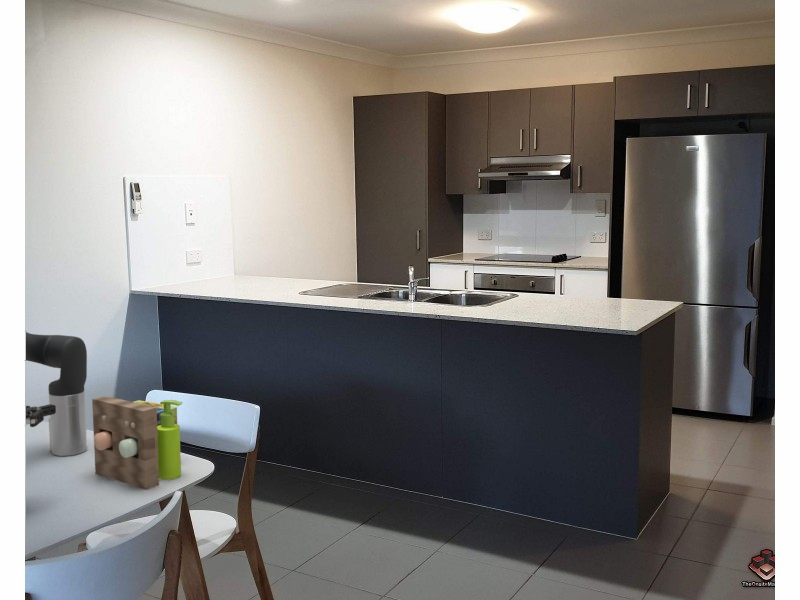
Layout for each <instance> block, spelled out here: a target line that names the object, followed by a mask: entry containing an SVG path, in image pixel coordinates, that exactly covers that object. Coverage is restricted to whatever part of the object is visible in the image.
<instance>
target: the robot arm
mask: <svg viewBox="0 0 800 600" xmlns="http://www.w3.org/2000/svg"><path fill="white" fill-rule="evenodd" d="M25 332H26V360H25V361H28V362H32V363H36V364H39V365H40V364H41V365H42V366H46V367H49V368H53V369H55V368H56V369H60V372H59V373H60V374H59V378H58V379H55V380H53V381H51V382H50V383H49V384H48V402H49V403H48V404H45V405H41V406H34V405H33V406H30V405H25V406H26V425H27V426H28V425H29V427H30V428H35V427H37V426H38V425H39V424H41V423H42V422H43V421H44V419H45V418H44V417H47V416H48V430H49V431H48V432H49V433H48V435H49V450H50V451H51V454H52V455H54V456H59V457H68V456H75V455H79V454H82V453H84V452H86V451H87V449H88V443H87V441H88V439H87V420H86V419H87V417H86V399H85V398H86V396H85V384H86V382H87V377H88V376H87V375H88V374H87V373H88V370H87V369H88V367H87V366H88V364H87V363H88V353H87V351H88V350H87V347H86V344H85V341H84V340H83V339H82V338H80V337H78V336H75V335H74V336H73V335H63V334H62V335H60V334H35V333H34V334H33V333H30V332H27V331H25ZM26 425H25V426H26Z"/></svg>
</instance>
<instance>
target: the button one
mask: <svg viewBox="0 0 800 600" xmlns="http://www.w3.org/2000/svg"><path fill="white" fill-rule="evenodd" d="M94 444H95V446H96V448H97V449H98V450H104V449H107V448H111V447H113V442H112V432H111V431H104V432H101V433H97V434H96V435H95V436H94V435H93V445H94Z"/></svg>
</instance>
